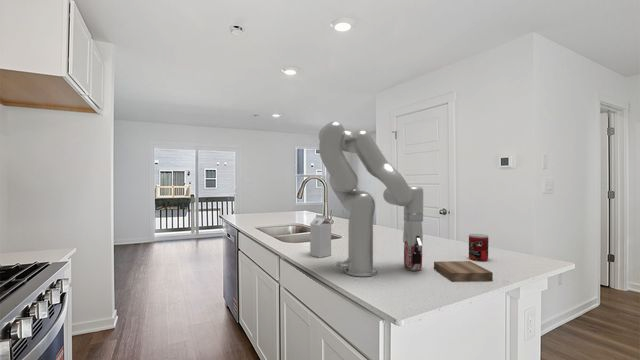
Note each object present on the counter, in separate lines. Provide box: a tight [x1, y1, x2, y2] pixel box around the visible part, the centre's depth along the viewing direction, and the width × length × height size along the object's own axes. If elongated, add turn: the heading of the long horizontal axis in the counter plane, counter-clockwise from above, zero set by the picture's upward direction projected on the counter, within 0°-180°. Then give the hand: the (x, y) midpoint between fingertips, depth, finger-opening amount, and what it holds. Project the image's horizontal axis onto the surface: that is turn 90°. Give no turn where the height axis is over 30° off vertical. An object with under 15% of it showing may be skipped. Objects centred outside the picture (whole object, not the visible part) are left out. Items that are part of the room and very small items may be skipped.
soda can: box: [403, 239, 423, 272], centre depth 125 cm, size 7×7×12 cm
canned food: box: [468, 233, 489, 262], centre depth 140 cm, size 8×8×11 cm
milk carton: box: [309, 214, 332, 259], centre depth 146 cm, size 7×7×19 cm
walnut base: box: [433, 260, 494, 283], centre depth 118 cm, size 15×15×3 cm
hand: (413, 260), depth 125 cm, fingers closed on soda can, 7 cm apart
